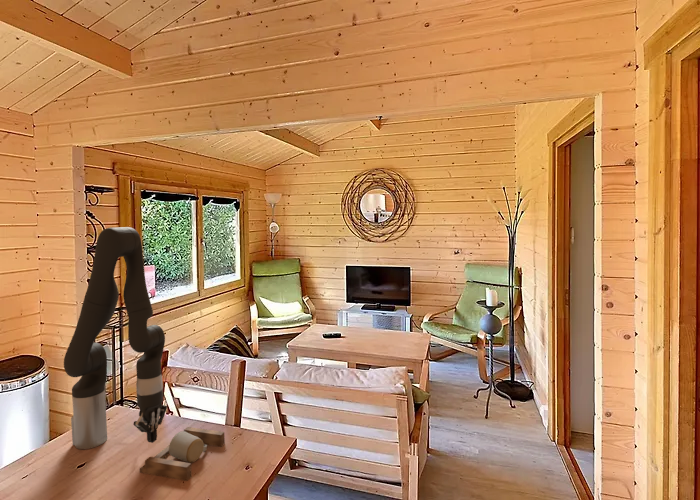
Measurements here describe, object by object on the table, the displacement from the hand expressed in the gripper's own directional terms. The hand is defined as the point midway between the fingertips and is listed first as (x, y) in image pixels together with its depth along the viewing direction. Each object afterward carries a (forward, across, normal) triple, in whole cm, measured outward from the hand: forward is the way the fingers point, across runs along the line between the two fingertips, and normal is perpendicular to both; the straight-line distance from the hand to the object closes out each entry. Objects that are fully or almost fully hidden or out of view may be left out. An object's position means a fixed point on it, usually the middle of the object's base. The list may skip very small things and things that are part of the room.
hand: (152, 441), depth 132 cm
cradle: (+4, 0, +13) cm, 13 cm away
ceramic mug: (+4, -1, +13) cm, 14 cm away
